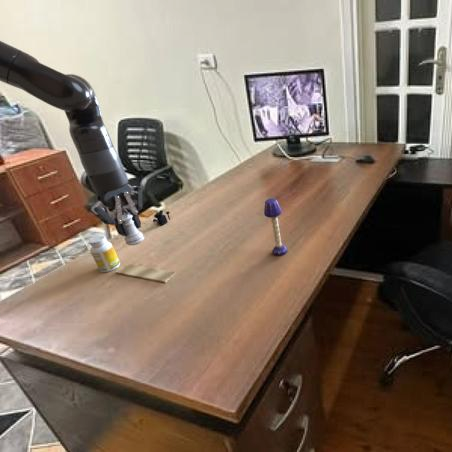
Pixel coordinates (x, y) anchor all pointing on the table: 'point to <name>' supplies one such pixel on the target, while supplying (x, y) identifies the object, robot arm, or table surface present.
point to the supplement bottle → (103, 254)
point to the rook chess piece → (131, 230)
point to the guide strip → (146, 273)
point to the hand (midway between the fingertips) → (131, 231)
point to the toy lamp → (275, 224)
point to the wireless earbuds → (161, 218)
